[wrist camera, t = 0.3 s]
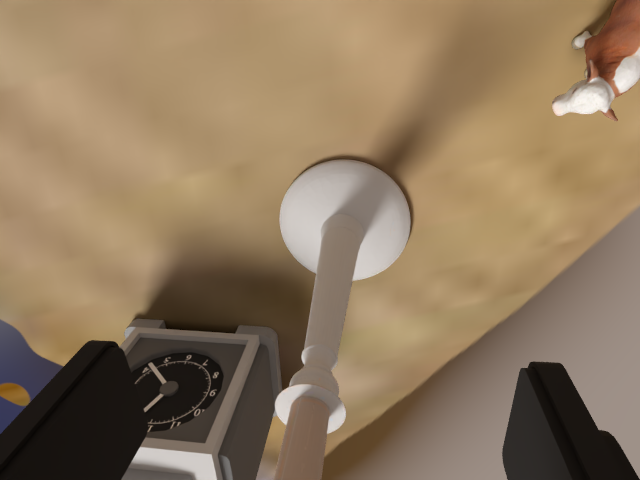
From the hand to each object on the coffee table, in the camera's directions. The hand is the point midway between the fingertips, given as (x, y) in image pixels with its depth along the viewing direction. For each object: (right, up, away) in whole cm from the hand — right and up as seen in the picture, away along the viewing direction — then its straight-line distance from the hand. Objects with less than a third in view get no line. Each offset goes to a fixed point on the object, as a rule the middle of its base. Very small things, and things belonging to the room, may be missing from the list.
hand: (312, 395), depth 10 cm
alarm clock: (-14, -12, +43) cm, 46 cm away
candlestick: (+3, +6, +31) cm, 32 cm away
